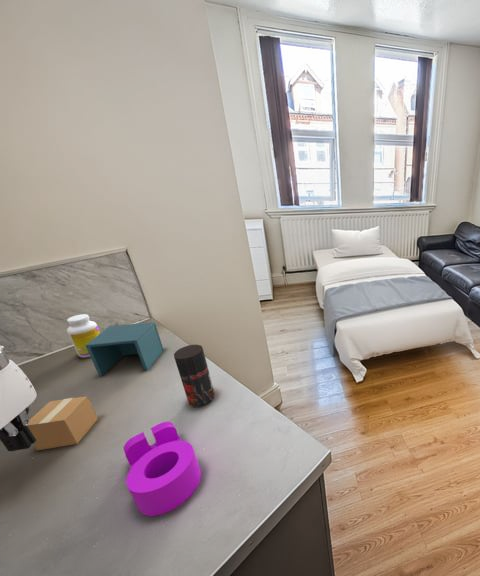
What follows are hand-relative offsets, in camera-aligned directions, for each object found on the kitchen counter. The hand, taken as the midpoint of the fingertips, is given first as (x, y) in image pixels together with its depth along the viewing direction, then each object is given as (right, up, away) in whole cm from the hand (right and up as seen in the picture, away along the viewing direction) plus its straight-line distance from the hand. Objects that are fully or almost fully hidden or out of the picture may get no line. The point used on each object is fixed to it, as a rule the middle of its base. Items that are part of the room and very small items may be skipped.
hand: (22, 446), depth 55 cm
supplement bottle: (-26, +9, +39) cm, 47 cm away
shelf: (-9, +7, +34) cm, 36 cm away
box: (-2, -3, +10) cm, 11 cm away
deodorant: (+21, +1, +21) cm, 30 cm away
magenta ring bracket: (+26, -7, +2) cm, 27 cm away
